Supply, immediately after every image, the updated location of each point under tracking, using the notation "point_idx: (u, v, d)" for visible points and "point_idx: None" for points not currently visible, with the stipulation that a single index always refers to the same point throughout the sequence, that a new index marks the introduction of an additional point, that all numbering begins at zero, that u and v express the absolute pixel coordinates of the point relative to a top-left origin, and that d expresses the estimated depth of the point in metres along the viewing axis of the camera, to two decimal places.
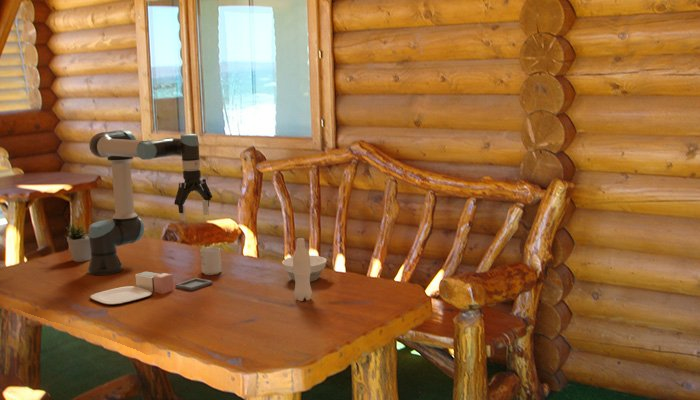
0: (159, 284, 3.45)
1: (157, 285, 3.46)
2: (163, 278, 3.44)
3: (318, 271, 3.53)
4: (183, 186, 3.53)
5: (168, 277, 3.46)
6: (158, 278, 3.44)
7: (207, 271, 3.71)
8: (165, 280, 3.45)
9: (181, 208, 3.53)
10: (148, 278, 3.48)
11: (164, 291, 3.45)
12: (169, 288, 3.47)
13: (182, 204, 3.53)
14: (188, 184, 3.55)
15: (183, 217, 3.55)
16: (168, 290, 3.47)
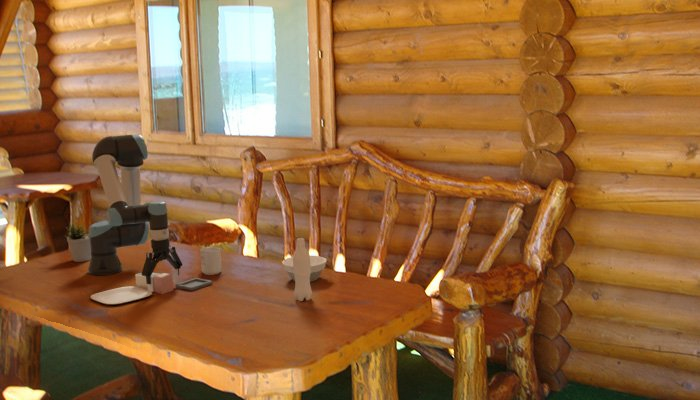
0: (159, 284, 3.45)
1: (157, 285, 3.46)
2: (163, 278, 3.44)
3: (318, 271, 3.53)
4: (151, 256, 3.40)
5: (168, 277, 3.46)
6: (158, 278, 3.44)
7: (207, 271, 3.71)
8: (165, 280, 3.45)
9: (149, 279, 3.40)
10: None
11: (164, 291, 3.45)
12: (169, 288, 3.47)
13: (150, 275, 3.40)
14: (156, 254, 3.42)
15: (151, 288, 3.41)
16: (168, 290, 3.47)
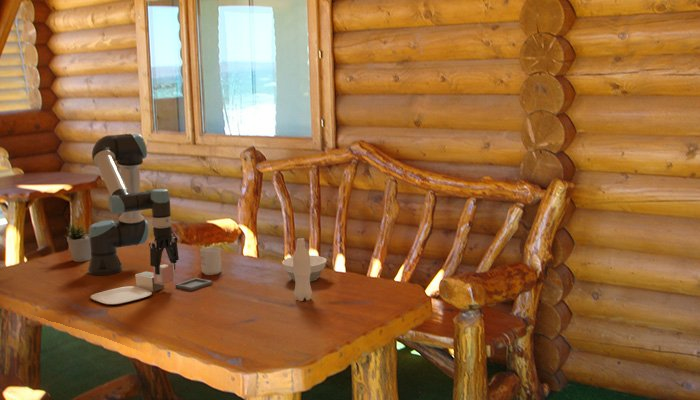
0: None
1: None
2: (163, 269, 3.44)
3: (318, 271, 3.53)
4: (154, 247, 3.38)
5: (168, 268, 3.46)
6: None
7: (207, 271, 3.71)
8: (164, 272, 3.44)
9: (158, 269, 3.42)
10: (148, 278, 3.48)
11: (164, 282, 3.45)
12: (169, 279, 3.47)
13: (159, 265, 3.41)
14: (158, 242, 3.40)
15: (160, 278, 3.43)
16: (168, 281, 3.46)
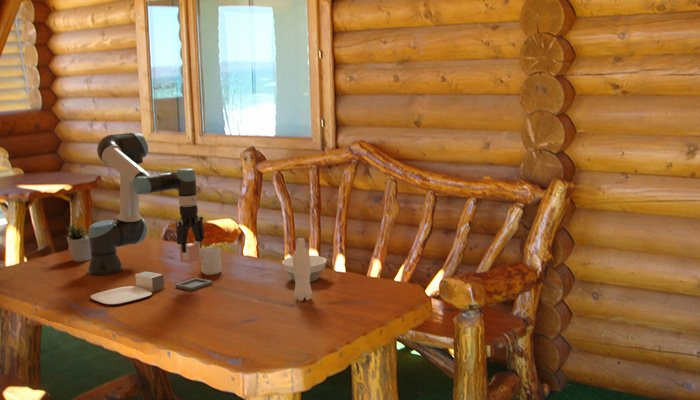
0: None
1: None
2: (189, 247, 3.49)
3: (318, 271, 3.53)
4: (181, 225, 3.44)
5: (194, 246, 3.52)
6: None
7: (207, 271, 3.71)
8: (191, 250, 3.50)
9: (184, 247, 3.47)
10: (148, 278, 3.48)
11: (190, 260, 3.50)
12: (195, 258, 3.52)
13: (185, 243, 3.47)
14: (185, 220, 3.46)
15: (186, 256, 3.49)
16: (194, 259, 3.52)
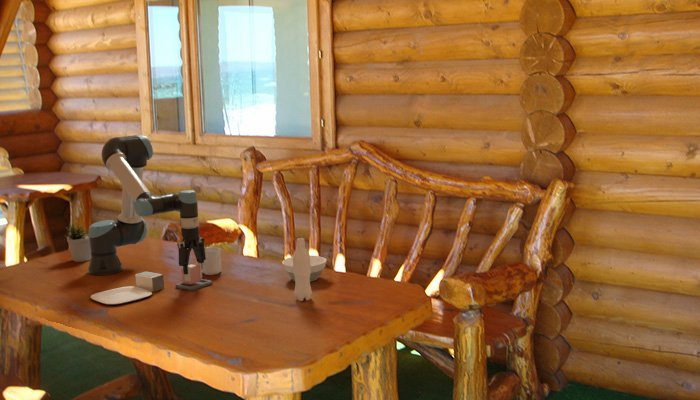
0: None
1: None
2: (191, 269, 3.51)
3: (318, 271, 3.53)
4: (182, 247, 3.46)
5: (195, 268, 3.53)
6: None
7: (207, 271, 3.71)
8: (192, 271, 3.52)
9: (186, 269, 3.49)
10: (148, 278, 3.48)
11: (192, 282, 3.52)
12: (197, 279, 3.54)
13: (187, 265, 3.48)
14: (187, 242, 3.48)
15: (188, 278, 3.50)
16: (196, 281, 3.54)
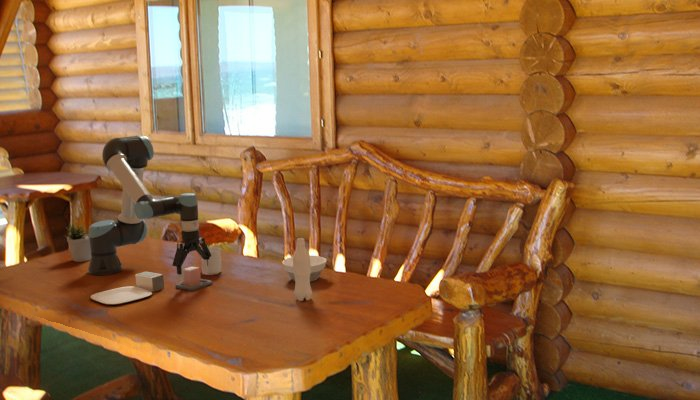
0: (187, 277, 3.52)
1: (185, 279, 3.53)
2: (191, 271, 3.51)
3: (318, 271, 3.53)
4: (181, 247, 3.46)
5: (196, 270, 3.53)
6: (186, 271, 3.51)
7: None
8: (193, 274, 3.52)
9: (179, 269, 3.46)
10: (148, 278, 3.48)
11: (192, 284, 3.52)
12: (197, 281, 3.54)
13: (180, 265, 3.46)
14: (186, 245, 3.48)
15: (181, 278, 3.48)
16: (196, 283, 3.54)
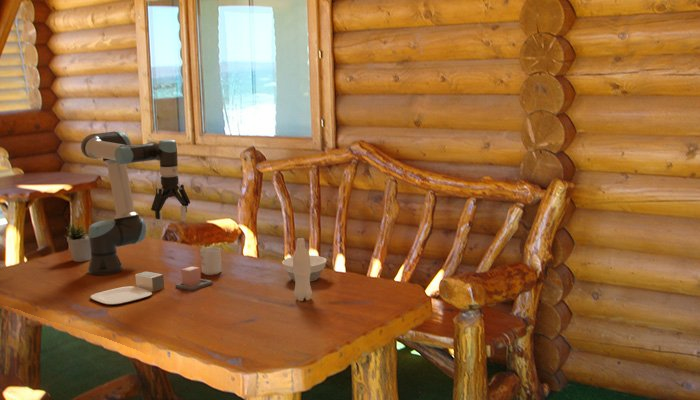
0: (187, 277, 3.52)
1: (185, 279, 3.53)
2: (191, 271, 3.51)
3: (318, 271, 3.53)
4: (160, 192, 3.52)
5: (196, 270, 3.53)
6: (186, 271, 3.51)
7: (207, 271, 3.71)
8: (193, 274, 3.52)
9: (158, 214, 3.53)
10: (148, 278, 3.48)
11: (192, 284, 3.52)
12: (197, 281, 3.54)
13: (159, 210, 3.53)
14: (165, 190, 3.55)
15: (160, 223, 3.55)
16: (196, 283, 3.54)
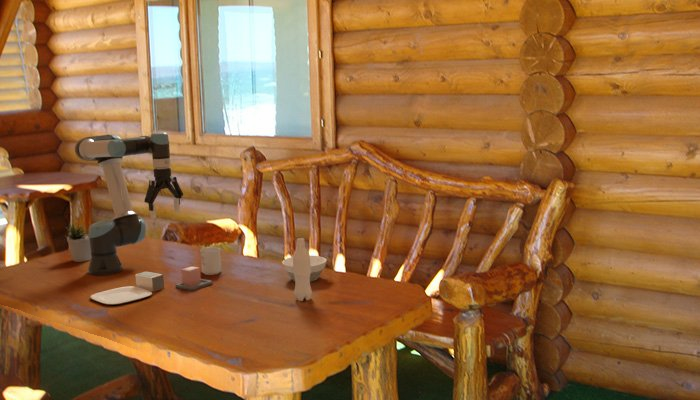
0: (187, 277, 3.52)
1: (185, 279, 3.53)
2: (191, 271, 3.51)
3: (318, 271, 3.53)
4: (153, 184, 3.56)
5: (196, 270, 3.53)
6: (186, 271, 3.51)
7: (207, 271, 3.71)
8: (193, 274, 3.52)
9: (151, 206, 3.57)
10: (148, 278, 3.48)
11: (192, 284, 3.52)
12: (197, 281, 3.54)
13: (152, 202, 3.56)
14: (158, 182, 3.59)
15: (153, 215, 3.58)
16: (196, 283, 3.54)
